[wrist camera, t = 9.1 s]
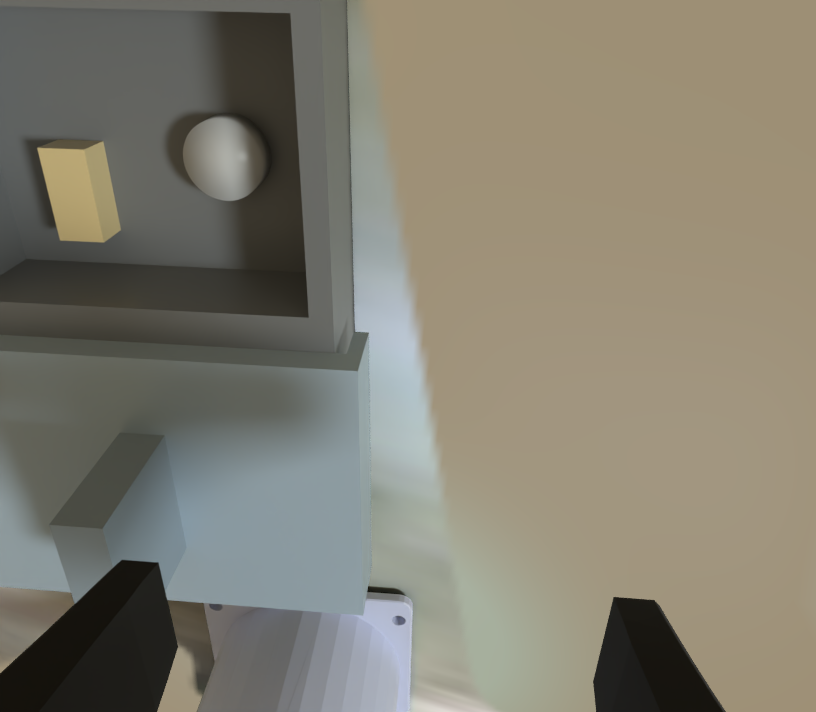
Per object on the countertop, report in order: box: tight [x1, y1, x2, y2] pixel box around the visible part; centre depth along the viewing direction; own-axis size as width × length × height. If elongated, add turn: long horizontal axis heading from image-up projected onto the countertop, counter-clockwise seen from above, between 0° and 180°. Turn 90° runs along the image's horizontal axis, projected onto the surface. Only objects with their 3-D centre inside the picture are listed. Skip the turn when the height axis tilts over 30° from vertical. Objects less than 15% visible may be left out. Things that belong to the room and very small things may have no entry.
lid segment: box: [0, 332, 372, 616], centre depth 18 cm, size 9×11×5 cm
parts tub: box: [0, 0, 355, 354], centre depth 18 cm, size 16×10×3 cm, turn 179°
